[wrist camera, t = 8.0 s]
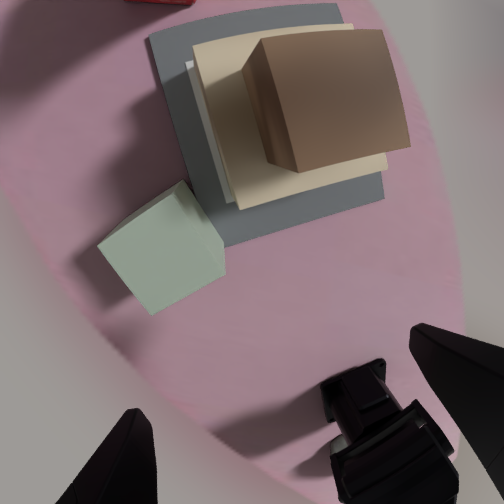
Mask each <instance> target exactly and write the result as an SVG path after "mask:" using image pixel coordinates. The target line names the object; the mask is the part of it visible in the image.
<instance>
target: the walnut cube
mask: <svg viewBox="0 0 504 504" xmlns="http://www.w3.org/2000/svg"><path fill="white" fill-rule="evenodd" d="M241 71H242V74H243V77H244V81H245V84H246V87H247V91H248V94H249V98H250V101H251V105H252V108H253V112H254V115H255V119H256V122H257V126H258V129H259V133H260V136H261V140H262V144H263V147H264V151H265V155H266V158H267V162H268V163H270V164H273V165H276V166H278V167H281V168H284V169H287V170H290V171H293V172H296V173H303V172H306V171H310V170H314V169H318V168H322V167H325V166H329V165H333V164H337V163H341V162H345V161H350V160H354V159H358V158H362V157H366V156H371V155H375V154H379V153H384V152H389V151H393V150H398V149H402V148H407V147H411V145H410V139H409V133H408V127H407V122H406V117H405V112H404V108H403V103H402V99H401V94H400V90H399V86H398V82H397V78H396V74H395V71H394V67H393V64H392V60H391V57H390V53H389V50H388V47H387V44H386V41H385V37H384V34H383V32H382V30H374V29H356V30H329V31H315V32H304V33H294V34H286V35H279V36H272V37H265V38H261V39H260V40H259V42H258V43H257V45H256V47H255V48H254V50H253V51H252V53H251V54H250V56H249V58H248V59H247V61H246V62H245V64H244V66H243V67H242V69H241Z"/></svg>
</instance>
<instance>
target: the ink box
mask: <svg viewBox="0 0 504 504" xmlns="http://www.w3.org/2000/svg"><path fill="white" fill-rule="evenodd" d="M124 1H138V2H153V3H167V4H185V5H193V4H194V3H195V2H196V0H124Z"/></svg>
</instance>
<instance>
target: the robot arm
mask: <svg viewBox="0 0 504 504" xmlns="http://www.w3.org/2000/svg"><path fill="white" fill-rule="evenodd" d="M409 349H410V352H411V354H412V355H413V357H414V359H415V361H416V362H417V364H418V366H419V368H420V370H421V371H422V373H423V375H424V377H425V379H426V380H427V382H428V384H429V385H430V387H431V388H432V390H433V391H434V393H435V394H436V395H437V397H438V398H439V400H440V401H441V403H442V404H443V405H444V407H445V408H446V410H447V411H448V413H449V414H450V416H451V417H452V419H453V420H454V421H455V423H456V424H457V426H458V427H459V429H460V430H461V432H462V433H463V435H464V436H465V438H466V439H467V441H468V443H469V444H470V446H471V447H472V449H473V450H474V452H475V453H476V455H477V456H478V458H479V460H480V461H481V463H482V465H483V466H484V468H485V469H486V471H487V473H488V475H489V476H490V478H491V480H492V481H493V483H494V484H495V486H496V488H497V490H498V491H499V493H500V495H501V497H502V498H503V500H504V348H502V347H499V346H496V345H492V344H489V343H486V342H483V341H479V340H476V339H472V338H469V337H466V336H463V335H460V334H457V333H453V332H450V331H447V330H444V329H441V328H437V327H434V326H431V325H428V324H425V323H419V324H417V325H415V326H413V327H412V328H411V330H410V340H409ZM385 378H386V361H385V360H384V359H383V358H381V359H378V360H376V361H374V362H372V363H369V364H367V365H365V366H363V367H360V368H358V369H356V370H353V371H351V372H348V373H346V374H344V375H341V376H339V377H336V378H334V379H331V380H328V381H326V382H324V383H322V384H321V393H322V398H323V404H324V409H325V415H326V420H327V422H328V423H331V422H334V421H336V422H337V424H338V426H339V428H340V430H341V433H342V435H343V437H344V439H345V441H346V443H347V445H348V447H346V448H344V449H342V450H341V451H339V452H337V453H333V454H332V455H330V459H331V467H332V471H333V475H334V479H335V483H336V487H337V491H338V499H339V501H340V502H341V503H344V504H456V500H457V494H458V492H459V474H458V472H457V471H456V469H455V468H454V466H453V464H452V463H451V461H450V460H449V458H448V456H450V455H451V454H452V453H454V449H453V447H452V445H451V443H450V442H449V440H448V439H447V437H446V436H445V434H444V433H443V431H442V430H441V429H440V427H439V426H438V425H437V423H436V422H435V421H434V420H433V419H432V417H431V416H430V415H429V414H428V412H427V411H426V410H425V409H424V408H423V406H422V405H421V404H420V403H419V401H418V400H417V399H415V400H414V401H412V402H411V404H410V405H409V406H407V407H406V408H405V409H402V407H401V406H400V404H399V403H398V401H397V400H396V398H395V397H394V396H393V394H392V393H391V391H390V390H389V389H388V387H387V386H386V384H385ZM423 424H424V425H423ZM422 425H423V426H422ZM421 426H422V427H421ZM419 427H421V428H419ZM55 504H158V500H157V466H156V457H155V448H154V439H153V430H152V426H151V423H150V422H149V420H148V419H147V418H146V417H145V415H144V414H143V412H142V411H141V410H140V409H139V408H134V409H128V410H126V411H125V413H124V414H123V415H122V417H121V418H120V419H119V421H118V422H117V423H116V425H115V426H114V427H113V429H112V430H111V431H110V433H109V434H108V435H107V437H106V438H105V439H104V441H103V442H102V443H101V445H100V446H99V447H98V448H97V450H96V451H95V453H94V454H93V455H92V456H91V458H90V459H89V460H88V462H87V463H86V464H85V466H84V467H83V468H82V470H81V471H80V472H79V474H78V475H77V476H76V478H75V479H74V480H73V483H71V484H70V486H69V487H68V488H67V490H66V491H65V492H64V493H63V495H62V496H61V497H60V498H59V500H58V501H57V502H56V503H55Z"/></svg>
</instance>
